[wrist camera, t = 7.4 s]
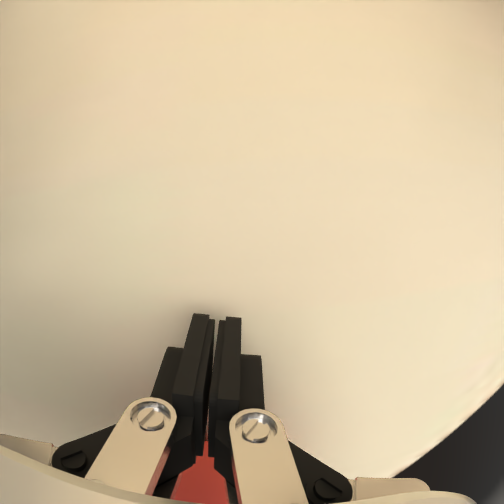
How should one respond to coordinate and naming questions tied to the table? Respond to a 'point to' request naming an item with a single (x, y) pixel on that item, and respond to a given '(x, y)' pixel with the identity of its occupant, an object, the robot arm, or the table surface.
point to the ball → (202, 482)
